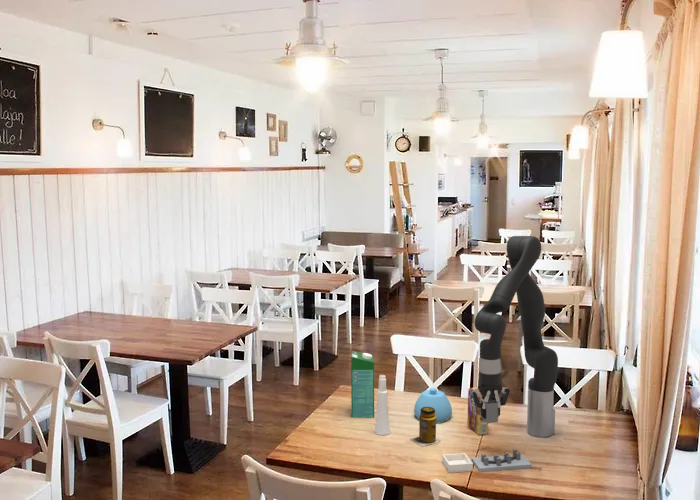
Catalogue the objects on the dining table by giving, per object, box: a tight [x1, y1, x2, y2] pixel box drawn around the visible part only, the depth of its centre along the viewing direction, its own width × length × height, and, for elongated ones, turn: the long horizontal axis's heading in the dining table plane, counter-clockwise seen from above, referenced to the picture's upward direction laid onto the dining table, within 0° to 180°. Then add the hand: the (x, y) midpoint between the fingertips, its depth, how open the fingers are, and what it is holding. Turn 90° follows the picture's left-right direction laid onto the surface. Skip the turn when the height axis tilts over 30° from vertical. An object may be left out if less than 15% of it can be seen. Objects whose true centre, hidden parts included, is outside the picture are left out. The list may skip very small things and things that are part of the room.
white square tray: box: [441, 452, 474, 474], centre depth 223 cm, size 8×8×3 cm
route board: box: [471, 448, 532, 473], centre depth 224 cm, size 18×8×4 cm, turn 99°
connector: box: [483, 399, 499, 424], centre depth 232 cm, size 4×4×8 cm
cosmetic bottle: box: [374, 374, 391, 436], centre depth 251 cm, size 6×6×22 cm
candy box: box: [466, 387, 489, 436], centre depth 252 cm, size 9×4×15 cm, turn 20°
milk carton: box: [350, 350, 375, 418], centre depth 269 cm, size 9×9×25 cm
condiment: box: [410, 407, 441, 447], centre depth 243 cm, size 7×8×12 cm
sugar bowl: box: [413, 387, 453, 424], centre depth 266 cm, size 15×15×12 cm
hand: (490, 417), depth 232 cm, fingers closed on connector, 4 cm apart
